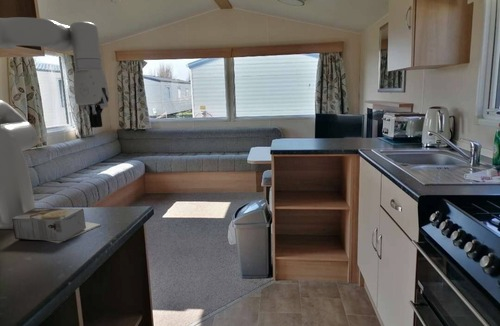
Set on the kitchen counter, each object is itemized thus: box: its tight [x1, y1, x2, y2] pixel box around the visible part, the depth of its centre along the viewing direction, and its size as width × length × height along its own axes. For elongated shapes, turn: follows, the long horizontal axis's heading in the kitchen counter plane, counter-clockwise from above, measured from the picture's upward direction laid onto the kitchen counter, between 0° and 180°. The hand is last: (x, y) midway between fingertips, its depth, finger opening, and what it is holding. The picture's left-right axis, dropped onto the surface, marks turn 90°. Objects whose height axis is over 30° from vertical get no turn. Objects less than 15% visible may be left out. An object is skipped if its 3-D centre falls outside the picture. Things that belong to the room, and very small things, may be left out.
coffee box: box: [12, 207, 86, 242], centre depth 103 cm, size 9×6×16 cm
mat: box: [45, 221, 102, 244], centre depth 108 cm, size 16×14×1 cm
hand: (96, 127), depth 113 cm, fingers closed
